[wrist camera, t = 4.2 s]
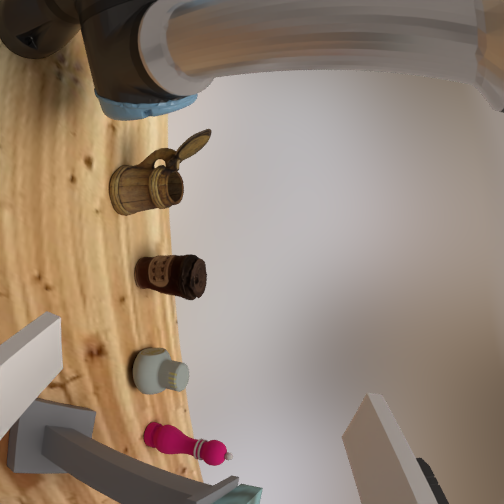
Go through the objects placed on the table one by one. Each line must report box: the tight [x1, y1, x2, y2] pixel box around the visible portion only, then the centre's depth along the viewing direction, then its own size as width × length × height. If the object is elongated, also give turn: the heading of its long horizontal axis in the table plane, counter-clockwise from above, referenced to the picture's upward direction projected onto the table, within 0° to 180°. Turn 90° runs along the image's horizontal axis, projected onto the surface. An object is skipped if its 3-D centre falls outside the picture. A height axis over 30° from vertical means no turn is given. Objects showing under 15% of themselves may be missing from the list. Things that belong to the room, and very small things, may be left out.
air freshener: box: [133, 348, 189, 394], centre depth 58 cm, size 11×8×10 cm
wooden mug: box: [109, 129, 211, 216], centre depth 50 cm, size 9×14×18 cm, turn 8°
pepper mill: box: [144, 422, 233, 466], centre depth 57 cm, size 7×7×20 cm
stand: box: [7, 398, 239, 504], centre depth 29 cm, size 16×12×28 cm
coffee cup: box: [135, 255, 207, 300], centre depth 58 cm, size 9×8×13 cm
